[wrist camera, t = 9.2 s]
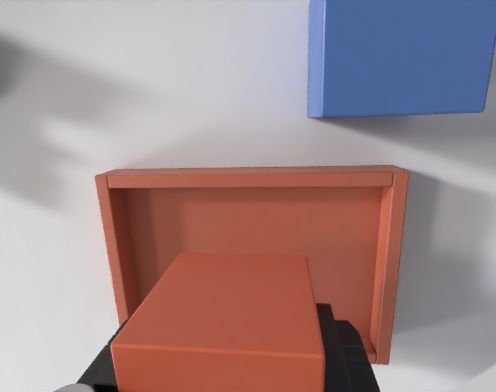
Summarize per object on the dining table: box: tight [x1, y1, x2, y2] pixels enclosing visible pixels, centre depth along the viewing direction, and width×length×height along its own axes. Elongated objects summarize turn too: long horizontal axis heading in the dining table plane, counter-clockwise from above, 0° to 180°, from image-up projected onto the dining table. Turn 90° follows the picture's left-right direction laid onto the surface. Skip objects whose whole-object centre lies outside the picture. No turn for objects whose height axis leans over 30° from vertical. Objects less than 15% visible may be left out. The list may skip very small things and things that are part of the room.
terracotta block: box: [111, 253, 325, 392], centre depth 9 cm, size 4×4×4 cm
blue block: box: [307, 0, 496, 118], centre depth 10 cm, size 4×4×4 cm
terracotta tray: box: [95, 165, 409, 365], centre depth 14 cm, size 13×9×2 cm
